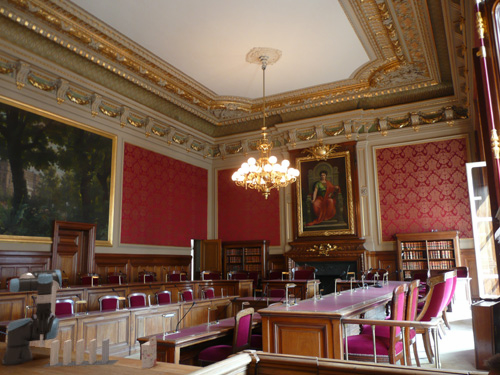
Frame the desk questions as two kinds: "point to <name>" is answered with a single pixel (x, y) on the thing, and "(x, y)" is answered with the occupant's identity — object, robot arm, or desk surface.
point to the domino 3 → (80, 352)
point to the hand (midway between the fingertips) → (42, 346)
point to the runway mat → (73, 363)
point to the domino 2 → (67, 352)
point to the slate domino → (105, 350)
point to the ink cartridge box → (149, 353)
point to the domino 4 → (92, 351)
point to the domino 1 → (54, 352)
